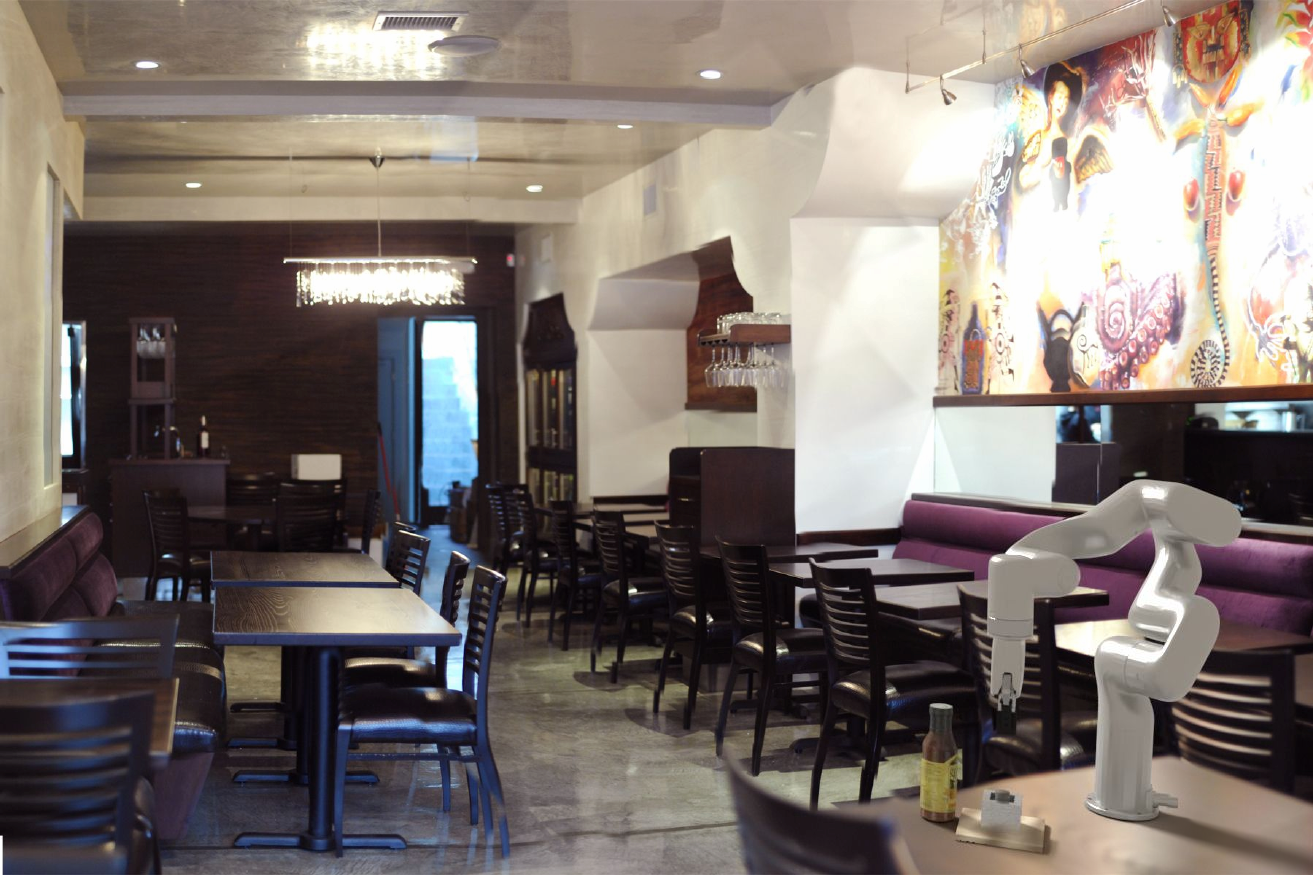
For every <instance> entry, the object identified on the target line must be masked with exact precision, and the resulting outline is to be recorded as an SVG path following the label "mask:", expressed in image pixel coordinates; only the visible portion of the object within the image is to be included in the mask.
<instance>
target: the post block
mask: <svg viewBox="0 0 1313 875" xmlns="http://www.w3.org/2000/svg"><path fill="white" fill-rule="evenodd" d="M994 791H995V800H996V801H1004V802H1010V793H1011V792H1010V791H1009V790H1006V789H995V790H994ZM1045 824H1046V819H1045V818H1041V817H1033V816H1026V815H1022V821H1021V830H1020V835H1013V834H1006V833H999V832H992V831H985V830H980V829H981V809H977V808H968V807H962V809H961V812H960V817H959V820H958V824H957V826H956V832H955V837H954V841H960V840H961V841H960V842H966V841H969V842H968V843H972V842H975V843H974V844H980V845H985V844H986V846H994V847H999V848H1006V849H1014V850H1021V851H1027V852H1034V853H1040V854H1043V853H1044V840H1045V839H1044V837H1045V827H1046V826H1045ZM966 843H967V842H966Z"/></svg>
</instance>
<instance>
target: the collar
mask: <svg viewBox="0 0 1313 875" xmlns="http://www.w3.org/2000/svg"><path fill="white" fill-rule="evenodd" d="M995 791H996V790H994V789H986V788H984V790H983V794H982V799H981V805H980V806H981V807H980V808H981V809H980V810H981V829H980V830H985V831H992V832H999V833H1006V834H1013V835H1020V830H1021V821H1022V816H1023V798H1024V797H1023V796H1024V795H1023V793H1015V792H1010V802H1004V801H996V800H995Z"/></svg>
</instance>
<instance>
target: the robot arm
mask: <svg viewBox="0 0 1313 875" xmlns="http://www.w3.org/2000/svg"><path fill="white" fill-rule="evenodd" d="M1242 528H1243V520H1242V516H1241V513H1240V510H1239V509H1238V507H1237V506H1235V505H1234V503H1232V502H1231V501H1228V500H1227V499H1225V498H1222V497H1219V496H1217V495H1214V494H1211V493H1209V492H1206V491H1203V490H1201V489H1199V488H1196V487H1193V486H1191V485H1188V484H1184V483H1180V482H1174V481H1173V482H1172V481H1164V480H1163V481H1162V480H1154V479H1135V480H1133V481H1130V482H1128V483H1127V484H1124V485H1123V486H1122V487H1121V488H1119V489H1117V490H1116V491H1115V492H1113V493H1112V494H1111V495H1109V496H1108V497H1106V498H1105V499H1103V500H1102V501H1101V502H1099V503H1098V504H1096V505H1095V506H1093V507H1092V508H1091V509H1089V510H1087V511H1086V512H1083V514H1080V515H1075V516H1072V517H1069V518H1065V519H1062V520H1060V521H1057V522H1054V523H1051V524H1048V525H1045V526H1043V527H1039V528H1037V529H1035V530H1033V531H1032V532H1030V533H1028V534H1026V535H1025V536H1024V537H1022V538H1021V539H1020V540H1018V541H1017V542H1015V543H1014V544H1013V545H1012V546H1010V547H1009V548H1008V549H1007V550H1006V552H1005V553H1000V554H999V553H998V554H995V555H993V556H991V557H990V559H989V561H988V568H987V569H988V572H987V573H988V575H987V576H988V577H987V580H988V581H987V584H988V585H987V613H986V614H987V618H986V619H987V620H986V621H987V622H986V623H987V624H986V630H987V631H986V634H987V636H988V637H990V638H992V647H991V667H990V668H991V670H990V691H989V692H990V695H991V696H992V697H995V695H998V702H997V709H996V725H995V728H996V729H995V730H996V731H995V733H996V734H997V735H1002V736H1004V735H1005V736H1016V735H1017V722H1018V720H1019V719H1020V718H1019V717H1020V697H1021V693H1022V687H1023V683H1024V677H1025V676H1024V674H1025V663H1026V662H1025V661H1026V660H1025V659H1026V657H1025V656H1026V640H1031V639H1033V638H1034V607H1035V606H1034V604H1035V603H1034V602H1035V601H1034V600H1035V599H1034V598H1035V597H1046V598H1062V597H1066V596H1068V595H1069V594H1071V593H1073V592H1074V591H1075V590H1076V589H1077V588H1078V586H1079V584H1080V581H1081V570H1080V568H1079V565H1078V564H1077V562H1076V561H1075V560H1076V559H1079V560H1080V559H1092V558H1099V557H1104V556H1105V557H1106V556H1108V555H1109V556H1110V555H1113V554H1115V553H1117V552H1118V551H1120V550H1121V549H1122V548H1123V547H1125V546H1126V545H1128V544H1129V543H1130V542H1132V541H1133V540H1134V539H1136V538H1137V537H1138V536H1140V535H1141V534H1143V533H1144V532H1145V531H1146V530H1149V529H1151V533H1152V537H1153V540H1154V547H1155V548H1154V549H1155V556H1154V562H1153V564H1152V565H1151V568H1150V570H1149V572H1148V575H1147V576H1146V577H1145V579H1144V581H1143V583H1142V585H1141V587H1140V589H1139V591H1138V592H1137V594H1136V596H1135V598H1134V600H1133V602H1132V604H1131V606H1130V609H1129V610H1128V614H1127V621H1128V624H1129V627H1130V629H1132V631H1133V632H1135V633H1136V634H1138V635H1140V636H1142V637H1145V638H1149V639H1150V640H1155V641H1159V642H1162V643H1163V642H1164V644H1160V643H1156V642H1152V641H1150V640H1145V639H1142V638H1137V637H1134V636H1129V635H1113V636H1109V637H1107V638H1105V639H1104V640H1102V641H1101V642H1100V643H1099V644H1098V646H1097V648H1096V649H1095V650H1096V651H1095V653H1094V654H1095V655H1094V660H1093V661H1094V663H1093V664H1094V672H1095V678H1096V685H1097V697H1098V698H1097V700H1098V702H1097V704H1098V707H1097V709H1098V710H1097V724H1096V725H1097V726H1096V745H1095V746H1096V749H1095V750H1096V751H1095V768H1094V770H1095V771H1094V774H1095V775H1094V792H1091V793H1088V794H1087V795H1086V796H1084V805H1085V806H1086V807H1087V808H1088V810H1090V811H1092V812H1094V813H1096V814H1099V815H1100V816H1105V817H1108V818H1113V819H1117V820H1124V821H1137V822H1138V821H1148V820H1153V819H1156V818H1157V817H1158V816H1159V814H1160V808H1159V807H1166V808H1168V809H1169V808H1171V809H1178V807H1179V798H1178V797H1174V796H1170V795H1171V794H1170V793H1164V792H1156V790H1154V789H1153V785H1152V769H1153V768H1152V765H1153V748H1154V746H1153V745H1154V727H1155V726H1154V725H1155V714H1154V709H1153V706H1152V703H1151V702H1152V701H1151V699H1155V700H1158V701H1162V702H1168V703H1169V702H1170V703H1171V702H1173V703H1174V702H1177V701H1179V700H1181V699H1183V698H1184V697H1185V696H1186V695H1187V694H1188V693H1189V692H1190V690H1191V688H1192V686H1193V685H1194V683H1195V681H1196V680H1197V678H1198V676H1199V674H1200V672H1201V670H1202V668H1203V666H1204V665H1205V662H1206V661H1207V660H1208V659H1207V658H1208V657H1209V655H1210V653H1211V652H1212V649H1213V648H1214V645H1215V643H1216V641H1217V639H1218V636H1219V632H1220V625H1221V623H1220V622H1221V621H1220V620H1221V619H1220V614H1219V613H1220V612H1219V611H1218V608H1217V607H1216V605H1215V604H1214V603H1213V602H1212V601H1211V600H1209V599H1208V598H1207V597H1203V596H1202V595H1197V594H1195V593H1196V591H1197V589H1198V587H1199V584H1200V582H1201V580H1202V577H1203V576H1202V575H1203V574H1202V573H1203V571H1202V565H1201V560H1200V558H1199V555H1198V553H1197V550H1196V547H1195V545H1202V546H1209V547H1216V548H1219V547H1220V548H1222V547H1227V546H1229V545H1230V544H1233V543H1234V542H1235V541H1236V540H1237V539H1238V537H1239V536H1240V534H1241V531H1242ZM1194 544H1195V545H1194Z"/></svg>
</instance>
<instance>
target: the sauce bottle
mask: <svg viewBox="0 0 1313 875" xmlns="http://www.w3.org/2000/svg"><path fill="white" fill-rule="evenodd" d="M928 712H929V715H930V718H929V719H930V720H929V731H928V733H927V734H926V736H925V737H924V739H923V741H922V750H921V751H922V754H921V764H920V765H921V766H920V768H921V770H920V788H919V789H920V790H919V791H920V792H919V793H920V796H919V797H920V798H919V806H920V809H919V810H920V816H921V817H922V818H923V819H925V820H927V821H930V822H936V823H938V822H939V823H945V822H947V823H948V822H951V821H953V820H954V819H955V817H956V810H957V795H958V794H957V793H958V792H957V791H958V788H957V786H958V761H959V751H958V747H957V745H956V741H955V738H954V735H953V728H952V727H953V726H952V721H953V720H952V718H953V715H954V707H953V705H950V704H947V703H942V702H941V703H940V702H939V703H931V704H929V710H928Z"/></svg>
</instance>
